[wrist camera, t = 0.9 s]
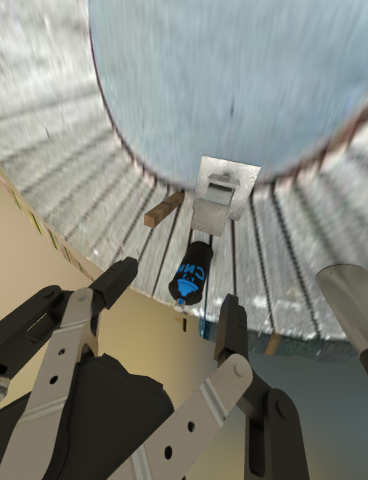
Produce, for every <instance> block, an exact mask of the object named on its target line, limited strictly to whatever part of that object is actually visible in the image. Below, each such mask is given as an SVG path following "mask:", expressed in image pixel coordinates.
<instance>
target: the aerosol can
mask: <svg viewBox="0 0 368 480" xmlns="http://www.w3.org/2000/svg"><path fill="white" fill-rule="evenodd" d="M212 257H213V251H212V249H211V247H210V246H209V245H208V244H206V243H204V242H193V243H191V244H190V245H189V247H188V251H187V253H186V255H185V256H184V258H183V260H182V262H181V264H180V266H179V268H178V270H177V272H176V274H175V276H174V278H173V280H172V281H171V282H170V283H169V287H168V288H169V291H170V293H171V295H172V297H173V299H174V300H176V304H175V306H174V309H175V310H176V311H178V312H182V311H183V309H184V306H185V305H193V304H196V303H199V302H200V301H201V300H202V292H203V288H204V284H205V281H206V277H207V273H208V269H209V265H210V262H211V259H212Z"/></svg>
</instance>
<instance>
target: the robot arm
mask: <svg viewBox="0 0 368 480" xmlns="http://www.w3.org/2000/svg"><path fill="white" fill-rule="evenodd" d="M137 273H138V266H137V259H134V258H132V257H129V256H128V257H126V258H125V259H124V260H123V261H122V260H120V261H118V262H116V263H114V264H113V265H112V266H111V267H110V268H109V269H108V270H106V272H104V273H103V274H102V275H101V276H100V277H99V278H98V279H97V280H95V281H94V282H93V283H92V284H91V285H90V286H89V287H87V288H81V289H78V290H77V291H65V290H62V289H61V288H60V286H57V285H51V286H48V287H45V288H43V289H42V290H40V291H39V292H37V293H36V294H35V295H33V296H32V297H31V298H30V299H28V300H27V301H25V302H24V303H23V304H22V305H20V306H19V307H18V308H16V309H15V310H14V311H13V312H11V313H10V314H8V315H7V316H6V317H5V318H3V319H2V320H1V321H0V401H2V400H3V399H4V398H5V396H6V395H7V392H8V390H7V389H8V387H9V384H10V380H11V379H12V378H13V377H14V376H15V375H16V374H17V373H18V372H19V371H20V370H21V369H22V367H23V366H24V365H25V364H26V363H27V362H28V361H29V360H30V359H31V358H32V357H33V356H34V355H35V354H36V353H37V352H38V350H39V349H40V348H41V347H42V346H43V345H44V344H45V343H46V342H47V341H48V340H49V339H50V338H51V339H50V341H49V344H48V347H47V350H46V353H45V356H44V358H43V361H42V364H41V367H40V370H39V372H38V375H37V378H36V381H35V384H34V387H33V389H32V391H30V392H29V393H27V394H25V395H24V396H22V397H21V398H19V399H17V400H15V401H13V402H12V403H10V404H8V405H7V406H5V407H3V408H2V409H0V480H186V477H185V474H186V473H187V472H188V470H189V469H190V468H191V466H192V464H194V462H195V461H196V459H197V458H198V457H199V456H200V454H201V453H202V452H203V450H204V449H205V448H206V446H207V445H208V444H209V442H210V441H211V440H212V439H213V437H214V436H215V435H216V433H217V432H218V431H219V429H220V428H221V426H222V425H223V423H224V421H225V418H226V416H227V414H228V413H229V411H230V410H231V409H232V408H233V406H234V405H235V404H236V405H237V406H238V407H239V408H240V409H241V410H242V411H243V412H244V413H245V414H246V429H245V464H244V480H310V479H309V473H308V467H307V461H306V455H305V449H304V443H303V437H302V432H301V426H300V420H299V415H298V412H297V409H296V407H295V405H294V403H293V402H292V400H291V399H290V397H289V396H288V395H287V394H286V393H285V392H284V391H282V390H280V389H277V388H274V389H272V388H271V387H270V386H269V385H268V384H267V383H265V382H264V381H263V380H262V379H261V378H260V377H259V376H258V375H257V374H256V373H255V372H254V370H253V369H252V367H251V365H250V363H249V359H248V341H247V314H246V312H245V309H244V307H243V306H240V305H238V301H239V299H238V297H237V296H234V295H232V294H229V293H228V294H227V296H226V298H225V300H224V302H223V303H222V306H221V310H220V317H219V324H218V332H217V339H216V347H215V354H214V360H216V361H218V367H217V370H216V371H215V372H214V373H213V374H212V375H211V376H210V377H209V378H208V379H207V380H206V381H205V382H204V383H203V384H202V385H201V386H200V387H199V388H198V389H197V390H196V391H195V392H194V393H193V394H192V395H191V396H190V397H189V398H188V399H187V400H186V401H185V402H184V403H183V404H182V405H181V406H180V407H179V408H178V409H177V410H176V411H174V407H173V404H172V402H171V400H170V398H169V396H168V394H167V393H166V391H165V390H164V389H163V384H161V383H159V382H157V381H156V380H154V379H152V378H150V377H148V376H141V375H133V374H129V373H128V372H127V370H126V369H125V368H124V367H123V366H122V365H121V363H120V362H119V361H118V360H116V359H115V358H113V357H111V356H109V355H107V354H105V353H104V354H103V355H102V356H98V333H99V325H100V317H101V311H102V310H103V309H104V308H106V309H108V310H109V309H110V308H111V306H112V305H113V304H114V303H115V302H116V300H117V299H118V298H119V297H120V296H121V294H122V293H123V292H124V291H125V289H126V288H127V287H128V286H129V285H130V283H131V282H132V281H133V280H134V278H135V277H136V276H137ZM316 282H317V284H318V286H319V288H320V289H321V291H322V293H323V295H324V297H325V298H326V300H327V302H328V304H329V306H330V307H331V309H332V311H333V313H334V315H335V316H336V318H337V320H338V322H339V323H340V325H341V327H342V329H343V331H344V332H345V334H346V336H347V338H348V340H349V341H350V343H351V345H352V347H353V348H354V350H355V352H356V354H357V356H358V357H359V359H360V361H361V363H362V365H363V366H364V368H365V370H366V372H367V374H368V273H367V272H366V271H365V270H363V269H362V268H360V267H358V266H354V265H345V264H342V265H335V266H331V267H328V268H326V269H324V270H322V271H321V272H320V273H319V274H318V275H317V277H316ZM45 313H46V315H45ZM43 315H44V316H43ZM42 316H43V317H42ZM41 317H42V318H41ZM40 318H41V319H40ZM39 319H40V320H39ZM38 320H39V321H38ZM37 321H38V322H37ZM36 322H37V323H36ZM35 323H36V324H35ZM34 324H35V325H34ZM32 325H33V326H32ZM31 326H32V327H31ZM30 327H31V328H30ZM29 328H30V329H29ZM28 329H29V330H28ZM27 330H28V331H27Z"/></svg>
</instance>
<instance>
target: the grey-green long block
mask: <svg viewBox="0 0 368 480" xmlns="http://www.w3.org/2000/svg"><path fill="white" fill-rule="evenodd" d="M231 193H232V187H227V186H223V185H219V184H214V183H213V184H212V185H211V186H210V188H209V189H208V190H207V191H206V193H205V194H204V195H203V197H202V198H197V202H196V207H195V212H194V216H193V221H192V226H191V228H192V229H196V230H199V231H202V232H206V233H209V234H212V235H216V236H219V237H221V235H222V232H223V230H224V227H225V224H226V221H227V219H228V216H229V213H230V210H231V207H232V206H229V203H230V198H231Z"/></svg>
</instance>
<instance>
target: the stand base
mask: <svg viewBox="0 0 368 480" xmlns="http://www.w3.org/2000/svg"><path fill="white" fill-rule="evenodd" d="M260 168H261V167H259V166H254V165H249V164H244V163H239V162H233V161H228V160H223V159H218V158H213V157H208V156H202V159H201V165H200V170H199V175H198V180H197V186H196V191H195V196H194V202H193V207H192V208H193V209H195V207H196V202H197V198H202V197H203V195H204V194H205V193H206V191H207V190H208V189H209V188H210V186H211V185H212V184H213V183H214V184H219V185H223V186H227V187H232V193H231V198H230V203H229V206H232V207H231V210H230V213H229V216H228V218H230V219H233V220H237V221H239V218H240V216H241V214H242V211H243V209H244V206H245V204H246V202H247V199H248V197H249V194H250V192H251V190H252V187H253V185H254V182H255V180H256V178H257V175H258V173H259V170H260Z"/></svg>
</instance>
